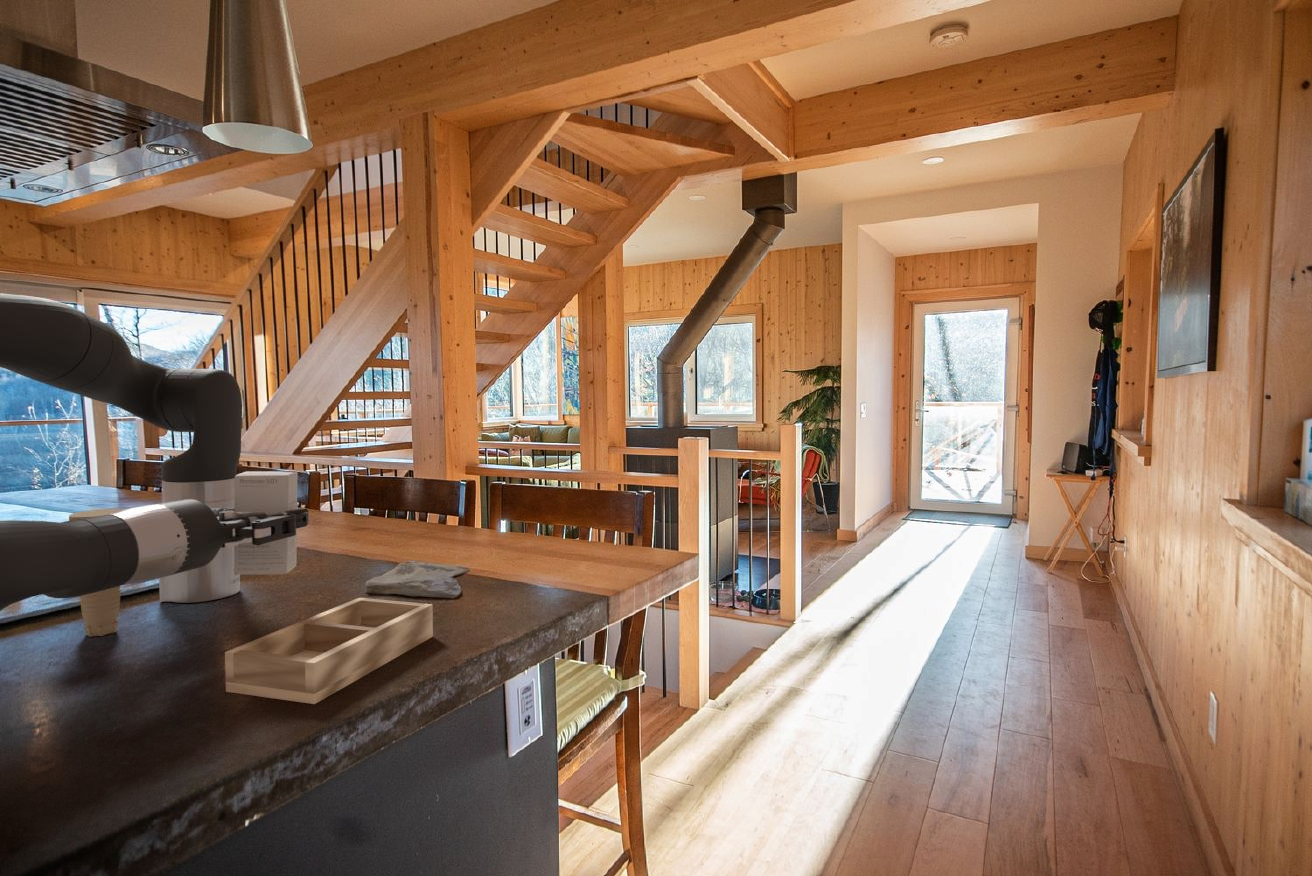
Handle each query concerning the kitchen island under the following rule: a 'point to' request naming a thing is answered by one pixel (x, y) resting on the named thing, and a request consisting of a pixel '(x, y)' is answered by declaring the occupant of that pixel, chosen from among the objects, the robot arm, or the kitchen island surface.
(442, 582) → the fossil rock
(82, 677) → the kitchen island surface
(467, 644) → the kitchen island surface
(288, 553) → the skincare box
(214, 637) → the kitchen island surface
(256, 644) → the tray
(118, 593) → the handle
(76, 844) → the kitchen island surface
